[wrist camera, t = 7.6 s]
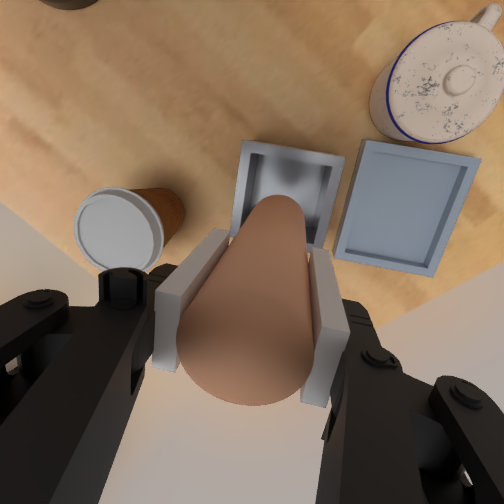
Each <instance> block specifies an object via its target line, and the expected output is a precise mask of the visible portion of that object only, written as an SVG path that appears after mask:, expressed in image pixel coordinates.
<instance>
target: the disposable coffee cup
mask: <svg viewBox="0 0 504 504" xmlns="http://www.w3.org/2000/svg"><path fill="white" fill-rule="evenodd" d="M184 216H185V215H184V207H183V204H182V202H181V200H180V199H179V198H178V197H177V195H176V194H174V193H173V192H171V191H169V190H167V189H164V188H154V189H133V190H127V189H123V188H118V187H108V188H102V189H99V190H97V191H95V192H93V193H92V194H90V195H89V196H88V197H87V198H86V199H85V200H84V202H83V203H82V204H81V206H80V207H79V209H78V210H77V213H76V215H75V218H74V235H75V239H76V242H77V245H78V247H79V249H80V250H81V252H82V253H83V255H84V256H85V257H86V258H87V260H88V261H89V262H90V263H92V264H93V265H94V266H95V267H97V268H98V269H100V270H102V271H105V270H108V269H112V268H119V267H131V268H136V269H140V270H142V271H144V272H145V271H147V270H149V269H150V268H151V267H152V266H153V265H154V264H155V263H156V262H157V261H158V259H159V257H160V256H161V254H162V250H163V248H164V247H165V245H166V244H167V243H168V241H169V240H170V239H171V238H172V236H173V235H174V234H175V232H176V231H177V230H178V229H179V227H180V226H181V225H182V223H183V220H184Z"/></svg>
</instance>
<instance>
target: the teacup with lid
mask: <svg viewBox="0 0 504 504" xmlns="http://www.w3.org/2000/svg"><path fill="white" fill-rule="evenodd" d="M501 13H502V8H501V7H500V6H499V5H498V4H496V3H490V4H488V5H487V6H485V7H484V8H483V9H481V10H480V11H479V12H478V13H477V14H476V15H475V16H474V17H473V18H472V19H471V20H470V21H469V22H467V21H452V22H446V23H442V24H439V25H436V26H434V27H432V28H429V29H428V30H426V31H424V32H423V33H421V34H420V35H418V36H417V37H416V38H415V39H413V40H412V41H411V42H410V43H409V44H408V45H407V46H406V47H405V48H404V50H403V51H402V52H401V54H400V55H399V56H398V57H397V58H396V59H394V60H393V61H392V62H391V63H390V64H389V65H387V66H386V67H385V68H384V70H383V71H382V72H381V73H380V75H379V76H378V78H377V79H376V81H375V83H374V85H373V88H372V91H371V94H370V101H369V109H370V114H371V118H372V121H373V123H374V124H375V126H376V127H377V129H378V130H379V131H380V132H381V133H382V134H384V135H385V136H387V137H389V138H391V139H394V140H398V141H416V142H420V143H424V144H441V143H447V142H450V141H453V140H456V139H459V138H461V137H463V136H465V135H466V134H468V133H470V132H471V131H473V130H474V129H475V128H476V127H478V126H479V125H480V124H481V123H482V122H483V121H484V120H485V119H486V118H487V117H488V116H489V115H490V114H491V112H492V111H493V110H494V108H495V107H496V105H497V103H498V101H499V100H500V97H501V95H502V93H503V90H504V49H503V46H502V44H501V43H500V41H499V40H498V38H497V37H496V36H495V35H494V34H493V33H492V32H491V30H492V28H493V27H494V26H495V24H496V23H497V21H498V20H499V18H500V16H501Z"/></svg>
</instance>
